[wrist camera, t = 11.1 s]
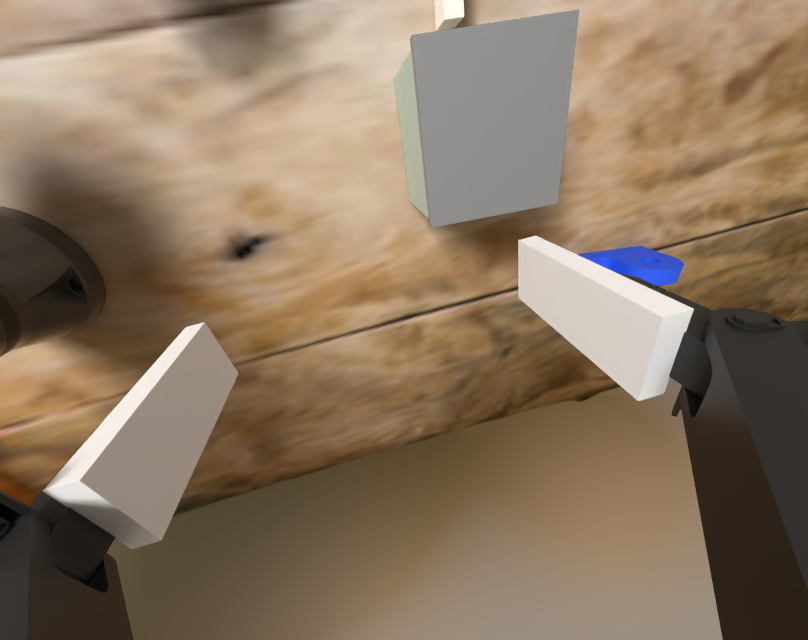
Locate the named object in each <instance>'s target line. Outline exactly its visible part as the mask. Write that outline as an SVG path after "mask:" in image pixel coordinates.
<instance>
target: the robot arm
mask: <svg viewBox="0 0 808 640" xmlns="http://www.w3.org/2000/svg"><path fill="white" fill-rule="evenodd" d="M518 285H519V299H521V300H522V301H523V302H524V303H525V304H526V305H528V306H529V307H530V308H531V309H532V310H533V311H534V312H536V313H537V314H538V315H539V316H540V317H541V318H543V319H544V320H545V321H546V322H547V323H548V324H549V325H551V326H552V327H553V328H554V329H555V330H556V331H558V332H559V333H560V334H561V335H562V336H563V337H565V338H566V339H567V340H568V341H569V342H570V343H571V344H573V345H574V346H575V347H576V348H577V349H578V350H580V351H581V352H582V353H583V354H584V355H585V356H587V357H588V358H589V359H590V360H591V361H592V362H593V363H595V364H596V365H597V366H598V367H599V368H600V369H602V370H603V371H604V372H605V373H606V374H607V375H608V376H610V377H611V378H612V379H613V380H614V381H615V382H617V383H618V384H619V385H620V386H621V387H622V388H624V389H625V390H626V391H627V392H628V393H629V394H630V395H632V396H633V397H634V398H635V399H636V400H637V401H640V400H644V399H647V398H651V397H654V396H658V395H661V394H664V392H665V389H666V387H667V384H668V381H669V378H670V377H671V378H673V379H674V380H675V381H677V382H678V383H680V384H681V385H682V387H681V390H680V392H679V395H678V397H677V400H676V403H675V405H674V408H673V411H672V416H677V415H678V412H679V410H682V415H683V421H684V427H685V432H686V438H687V443H688V448H689V454H690V460H691V465H692V471H693V477H694V482H695V487H696V493H697V499H698V504H699V510H700V515H701V521H702V526H703V532H704V538H705V543H706V548H707V554H708V560H709V565H710V571H711V577H712V582H713V587H714V593H715V598H716V604H717V610H718V615H719V621H720V627H721V632H722V638H723V640H808V321H792V322H787V321H785V320H784V319H781V318H779V317H777V316H775V315H773V314H769V313H766V312H762V311H758V310H753V309H745V308H724V309H719V310H716V311H712V310H710V309H708V308H706V307H703V306H701V305H699V304H697V303H694V302H692V301H690V300H688V299H685V298H683V297H681V296H679V295H676V294H674V293H672V292H670V291H669V292H666V290H665V289H663V288H661V287H658V286H654V285H653V284H652V283H649V282H647V281H645V280H643V279H640V278H638V277H633V276H629V275H624V274H618V273H616V272H613V271H611V270H609V269H607V268H605V267H603V266H600V265H598V264H596V263H594V262H592V261H590V260H587V259H585V258H583V257H581V256H579V255H577V254H574V253H572V252H570V251H568V250H566V249H564V248H562V247H559V246H557V245H555V244H553V243H551V242H549V241H546V240H544V239H542V238H540V237H538V236H532V237H528V238H525V239H521V240H518ZM104 299H105V291H104V285H103V281H102V278H101V276H100V274H99V272H98V270H97V268H96V266H95V265H94V263H93V262H92V261H91V259H90V258H89V257H88V256H87V254H86V253H85V252H84V251H83V250H82V249H81V248H80V247H79V246H78V245H77V244H76V243H75V242H73V241H72V240H71V239H70V238H69V237H67V236H66V235H65V234H63V233H62V232H60V231H59V230H57V229H56V228H54V227H53V226H51V225H49V224H47V223H45V222H43V221H42V220H39V219H37V218H35V217H33V216H30V215H28V214H25V213H23V212H20V211H16V210H13V209H9V208H5V207H0V357H1V356H2V355H4V354H6V353H7V352H9V351H11V350H14V349H18V348H22V347H26V346H29V345H33V344H37V343H41V342H45V341H48V340H52V339H56V338H60V337H63V336H66V335H69V334H71V333H73V332H75V331H77V330H79V329H80V328H82V327H83V326H85V325H86V324H88V323H89V322H91V321H92V320H93V319H94V318H95V317H97V315H98V314H99V313H100V311H101V309H102V307H103V304H104ZM238 374H239V373H238V372H237V370H236V369H235V367H234V366H233V364H232V363H231V361H230V360H229V358H228V356H227V355H226V353H225V352H224V350H223V349H222V347H221V346H220V344H219V343H218V341H217V340H216V338H215V337H214V335H213V334H212V332H211V331H210V329H209V328H208V326H207V325H206V323H205V322H204V323H200V324H196V325H192V326H188V327H185V329H184V330H183V331H182V332H181V333H180V334H179V335H178V337H177V338H176V339H175V340H174V341H173V342H172V343H171V345H170V346H169V347H168V348H167V349H166V350H165V351H164V353H163V354H162V355H161V356H160V357H159V358H158V359H157V361H156V362H155V363H154V364H153V365H152V366H151V367H150V369H149V370H148V371H147V372H146V373H145V374H144V375H143V377H142V378H141V379H140V380H139V381H138V382H137V383H136V385H135V386H134V387H133V388H132V389H131V390H130V391H129V393H128V394H127V395H126V396H125V397H124V398H123V399H122V401H121V402H120V403H119V404H118V405H117V406H116V407H115V409H114V410H113V411H112V412H111V413H110V414H109V415H108V417H107V418H106V419H105V420H104V421H103V422H102V423H101V424H100V425H99V426H98V427H97V428H96V429H95V430H94V432H93V433H92V434H91V435H90V436H89V437H88V438H87V440H86V441H85V443H84V444H82V445H81V446H80V448H79V449H78V450H77V451H76V452H75V453H74V455H73V457H71V458H70V459H69V460H68V461H67V462H66V464H65V465H64V466H63V467H62V468H61V469H60V470H59V471H58V473H57V474H56V475H55V476H54V477H53V478H52V479H51V481H50V482H49V483H48V484H47V485H46V486H45V487H44V489H43V490H42V491H41V492H40V493H39V494H38V495H37V497H36V498H35V499H34V500H33V501H32V502H31V503H30V505H29V506H27V505H25V504H24V503H22V502H20V501H19V500H17V499H15V498H14V497H12V496H10V495H9V494H7V493H5V492H4V491H2V490H0V640H133V636H132V632H131V628H130V623H129V618H128V614H127V609H126V605H125V600H124V596H123V591H122V587H121V582H120V578H119V573H118V569H117V564H116V561H115V559H114V558H113V557H112V556H110V555H109V554H107V553H106V552H107V551H108V549H109V547H110V546H111V544H112V542H113V540H114V539H117V540H118V541H120V542H121V543H123V544H124V545H126V546H127V547H129V548H131V549H133V548H137V547H140V546H143V545H147V544H150V543H154V542H157V541H161V540H162V538H163V536H164V534H165V531H166V529H167V527H168V524H169V523H170V521H171V518H172V516H173V514H174V512H175V510H176V508H177V505H178V503H179V501H180V499H181V497H182V495H183V493H184V490H185V488H186V486H187V484H188V482H189V480H190V477H191V475H192V473H193V471H194V469H195V467H196V464H197V462H198V460H199V458H200V456H201V454H202V452H203V449H204V447H205V445H206V443H207V441H208V439H209V436H210V434H211V432H212V430H213V428H214V426H215V423H216V421H217V419H218V417H219V415H220V413H221V410H222V408H223V406H224V404H225V402H226V400H227V398H228V395H229V393H230V391H231V389H232V387H233V385H234V382H235V380H236V378H237V376H238Z"/></svg>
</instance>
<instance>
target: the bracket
mask: <svg viewBox="0 0 808 640" xmlns="http://www.w3.org/2000/svg"><path fill="white" fill-rule="evenodd" d="M577 255H579V256H581V257H583V258H585V259H587V260H590V261H592V262H594V263H596V264H598V265H600V266H603V267H605V268H607V269H609V270H611V271H613V272H616V273H618V274H624V275H629V276H633V277H638V278H640V279H643V280H645V281H647V282H649V283H652V284H653V285H669V284H673V283H675V282H677V280H678V278H679V275H680V273H681V270H682V268H683V266H684V263H683V262H682V261H681V260H679V259H677V258H674V257H672V256H669V255H666V254H663V253H660V252H657V251H654V250H651V249H648V248H645V247H642V246H637V247H629V248H622V249H614V250H607V251H599V252H592V253H584V254H577Z"/></svg>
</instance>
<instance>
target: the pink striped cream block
mask: <svg viewBox="0 0 808 640" xmlns="http://www.w3.org/2000/svg"><path fill="white" fill-rule="evenodd" d="M434 7H435V22H436V31H440V30H447V29H453V28H455V27H456V26H457V25H458V23H459V22H460V21H461V20H462V19H463V18H464V0H434Z"/></svg>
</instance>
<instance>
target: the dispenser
mask: <svg viewBox="0 0 808 640" xmlns="http://www.w3.org/2000/svg"><path fill="white" fill-rule="evenodd" d="M578 16H579V10H573V11H566V12H560V13H553V14H547V15H540V16H534V17H527V18H521V19H514V20H507V21H501V22H494V23H488V24H481V25H475V26H468V27H462V28H455V29H449V30H442V31H435V32H429V33H422V34H416V35H412V36H411V38H410V43H411V51H410V53H409V55H408V56H407V58H406V59H405V61H404V63H403V64H402V66H401V68H400V69H399V71H398V72H397V74H396V76H395V77H394V85H395V93H396V101H397V108H398V116H399V124H400V131H401V139H402V147H403V154H404V162H405V170H406V177H407V185H408V193H409V201H410V202H411V203H412V204H413V205H414V206H415V207H416V208H418V209H419V210H420V211H421V212H422V213H423V214H424V215H425V216H426V217H427V218H429V226H430V227H431V228H433V227H438V226H444V225H449V224H454V223H459V222H465V221H470V220H475V219H480V218H486V217H491V216H496V215H501V214H507V213H512V212H517V211H522V210H528V209H533V208H538V207H543V206H549V205H554V204H558V197H559V188H560V179H561V170H562V161H563V152H564V143H565V134H566V125H567V116H568V107H569V98H570V89H571V79H572V70H573V61H574V52H575V43H576V34H577V25H578Z"/></svg>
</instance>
